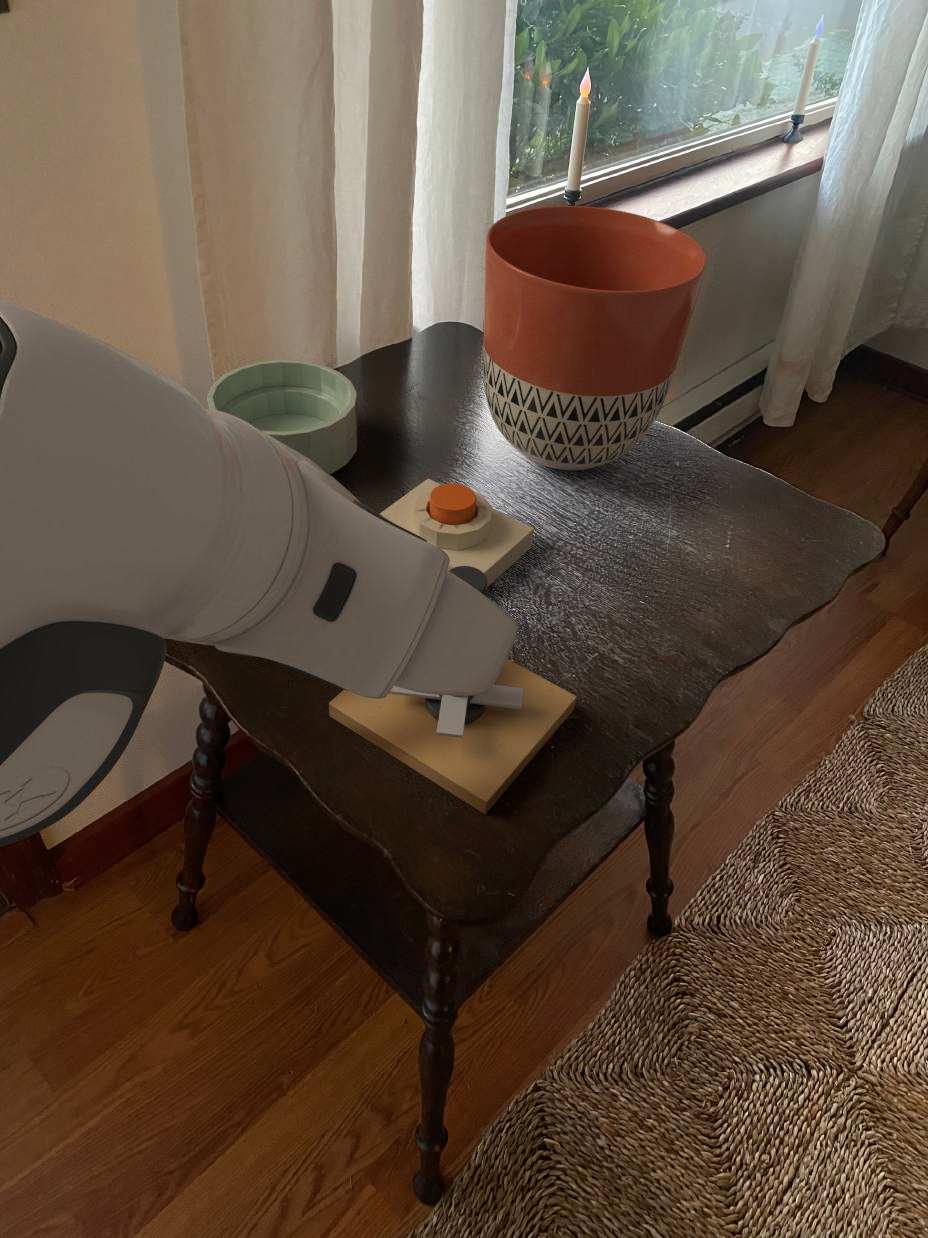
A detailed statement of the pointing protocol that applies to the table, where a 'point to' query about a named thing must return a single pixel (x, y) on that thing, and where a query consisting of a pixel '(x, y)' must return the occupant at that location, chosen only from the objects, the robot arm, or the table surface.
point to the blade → (465, 708)
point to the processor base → (465, 532)
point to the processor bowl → (294, 407)
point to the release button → (452, 504)
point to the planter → (583, 328)
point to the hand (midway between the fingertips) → (379, 592)
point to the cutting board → (487, 745)
